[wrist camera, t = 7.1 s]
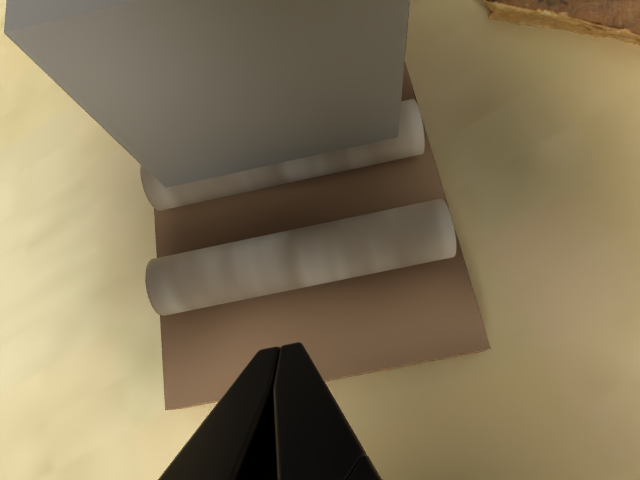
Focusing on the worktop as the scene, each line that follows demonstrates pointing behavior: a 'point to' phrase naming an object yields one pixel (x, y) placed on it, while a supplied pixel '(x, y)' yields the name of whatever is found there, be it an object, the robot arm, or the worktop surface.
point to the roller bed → (323, 308)
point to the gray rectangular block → (223, 75)
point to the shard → (574, 16)
